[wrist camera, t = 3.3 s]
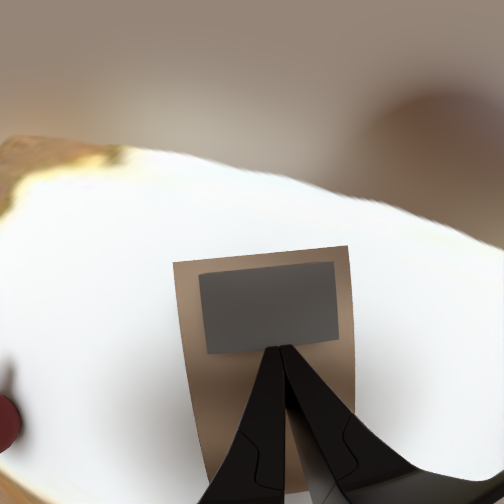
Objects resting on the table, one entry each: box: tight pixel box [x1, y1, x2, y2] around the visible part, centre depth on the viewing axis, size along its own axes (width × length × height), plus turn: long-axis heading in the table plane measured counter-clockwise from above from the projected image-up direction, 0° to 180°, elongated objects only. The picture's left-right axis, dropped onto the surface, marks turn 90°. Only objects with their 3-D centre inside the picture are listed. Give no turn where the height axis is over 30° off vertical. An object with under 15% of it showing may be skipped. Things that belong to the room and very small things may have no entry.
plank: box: [173, 245, 355, 494], centre depth 13 cm, size 14×8×4 cm, turn 6°
